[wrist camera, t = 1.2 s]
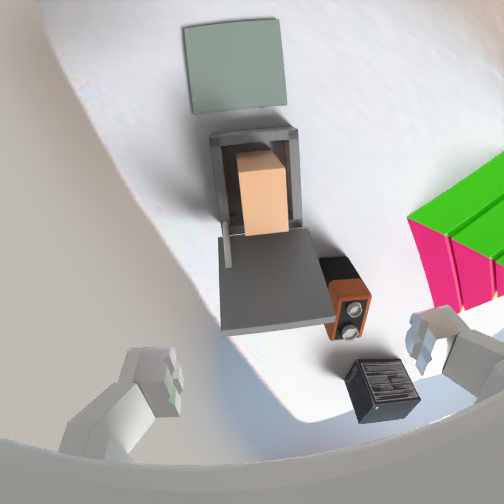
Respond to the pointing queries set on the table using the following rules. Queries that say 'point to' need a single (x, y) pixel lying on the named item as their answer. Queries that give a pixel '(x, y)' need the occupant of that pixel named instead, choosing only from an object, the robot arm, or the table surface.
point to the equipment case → (267, 255)
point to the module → (262, 192)
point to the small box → (381, 390)
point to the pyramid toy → (464, 239)
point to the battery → (345, 298)
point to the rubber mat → (235, 66)
